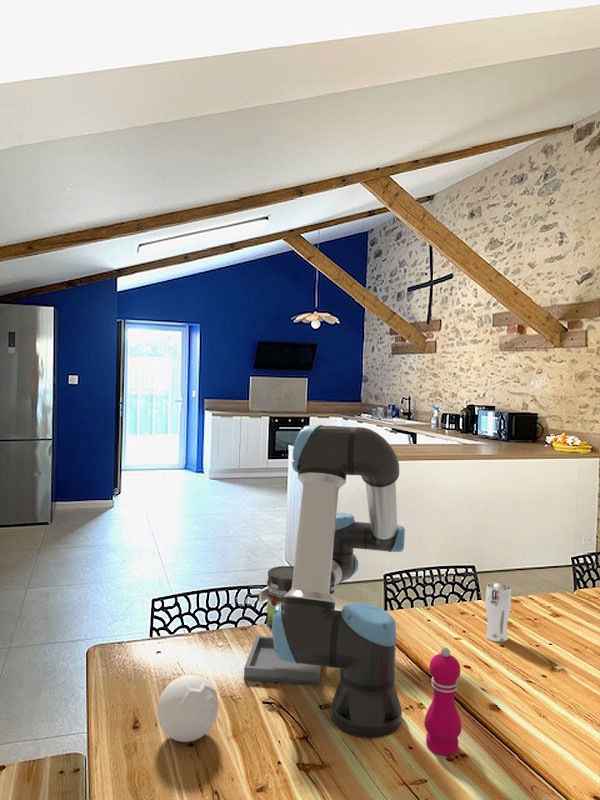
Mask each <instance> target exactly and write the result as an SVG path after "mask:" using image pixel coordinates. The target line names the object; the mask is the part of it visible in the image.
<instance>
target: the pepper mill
mask: <svg viewBox="0 0 600 800" xmlns="http://www.w3.org/2000/svg"><path fill="white" fill-rule="evenodd" d="M429 673H430V674H431V676H432V677H431V687H432V688H433V698H432V700H431V703H430V705H429V707H428V709H427V710H426V713H425V716H424V728H425V730H426V736H425V737H426V738H425V744H426V746H427V749H429V750H430V751H431V752H433V753H434V754H436V755H439V756H440V755H441V756H453V755H455V754H456V753H457V752H458V750H459V739H458V738H459V736H460V735H461V733H462V720H461V717H460V715H459V711H458V709H457V707H456V703H455V692H456V691H457V690H458V681H457V680H458V679H459V678H460V676H461V665H460V662H459V661H458V659H457V658H456V657H454V656H453V655H451V650H450V649H449V648H448V647H443V648H441V650H440V653H438V654H436V655H434V656H433V657H432V658H431V659H430V663H429Z"/></svg>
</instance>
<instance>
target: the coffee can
mask: <svg viewBox="0 0 600 800" xmlns="http://www.w3.org/2000/svg"><path fill="white" fill-rule="evenodd" d="M293 572H294V565H293V566H292V565H280V566H275V567H272V568H270V569H268V571H267V580H268V599H267V610H266V611H267V613H266V626H265V627H266V629H267V630H268V631H269V632H270V633H272V623H273V615H274V610H275V607H276V605H278V604H280V603H282V604H283V600H284V595H285V594H286V593H287V592H289V591H290V590H291V588H292V581H293Z"/></svg>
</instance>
